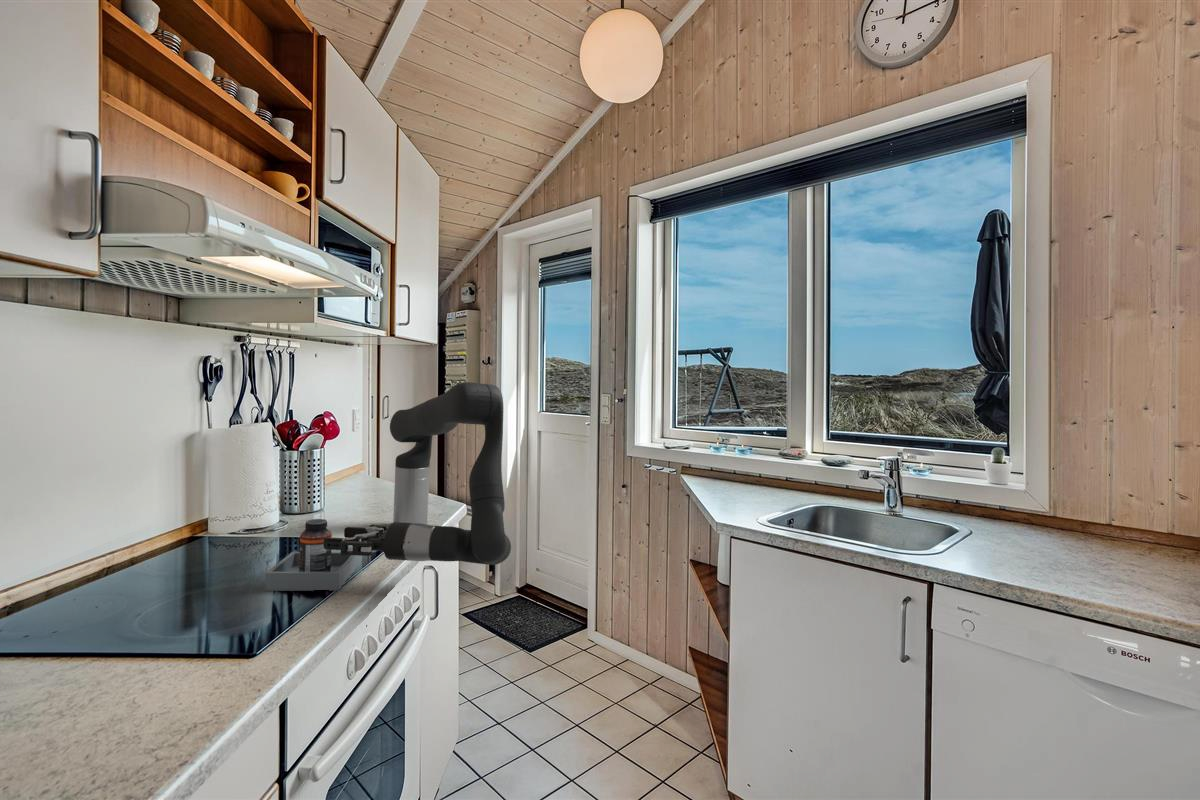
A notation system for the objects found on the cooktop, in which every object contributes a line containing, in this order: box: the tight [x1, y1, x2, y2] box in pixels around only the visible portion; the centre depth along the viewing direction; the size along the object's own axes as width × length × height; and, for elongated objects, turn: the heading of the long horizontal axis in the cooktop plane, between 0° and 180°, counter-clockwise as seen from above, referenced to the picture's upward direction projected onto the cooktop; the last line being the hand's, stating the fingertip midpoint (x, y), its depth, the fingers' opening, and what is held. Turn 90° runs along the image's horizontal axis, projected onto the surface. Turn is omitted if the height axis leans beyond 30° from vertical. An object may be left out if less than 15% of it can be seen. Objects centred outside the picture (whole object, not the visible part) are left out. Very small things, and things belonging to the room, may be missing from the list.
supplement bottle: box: [299, 518, 333, 572], centre depth 119 cm, size 6×6×11 cm
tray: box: [264, 551, 359, 592], centre depth 119 cm, size 14×14×4 cm
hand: (335, 537), depth 118 cm, fingers open, 8 cm apart
